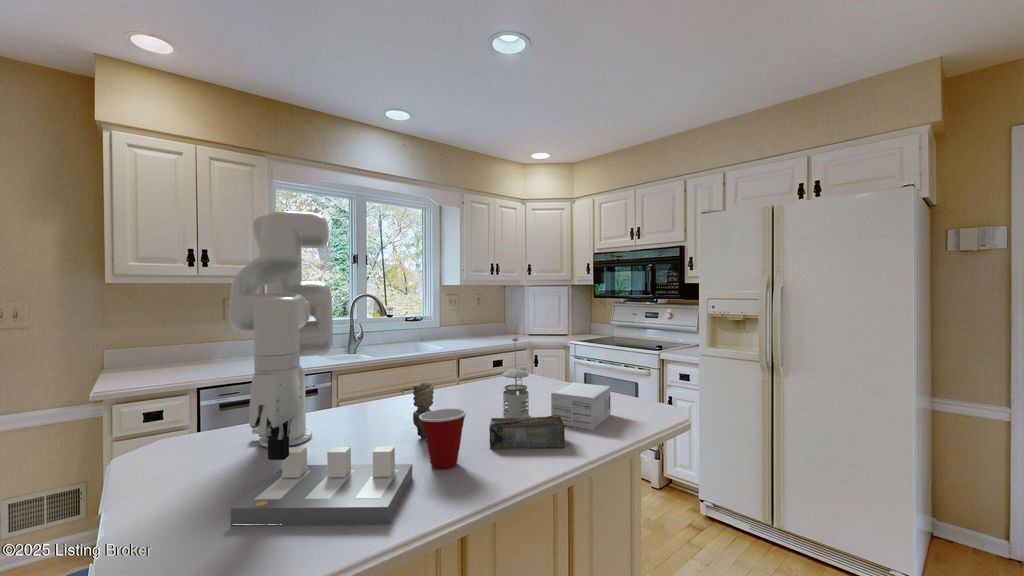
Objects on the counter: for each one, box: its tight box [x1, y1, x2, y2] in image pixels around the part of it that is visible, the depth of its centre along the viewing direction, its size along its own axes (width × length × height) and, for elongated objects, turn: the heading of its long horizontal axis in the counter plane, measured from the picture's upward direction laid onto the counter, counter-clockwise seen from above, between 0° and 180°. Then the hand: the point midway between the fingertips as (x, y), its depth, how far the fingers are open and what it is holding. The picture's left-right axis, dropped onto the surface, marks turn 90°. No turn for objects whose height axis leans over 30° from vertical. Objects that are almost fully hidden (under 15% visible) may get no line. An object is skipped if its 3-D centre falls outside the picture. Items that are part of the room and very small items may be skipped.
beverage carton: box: [488, 415, 566, 450], centre depth 112 cm, size 8×19×7 cm, turn 91°
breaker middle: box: [326, 446, 352, 477], centre depth 87 cm, size 4×4×5 cm
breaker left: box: [281, 446, 308, 478], centre depth 87 cm, size 4×4×5 cm
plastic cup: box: [419, 408, 467, 471], centre depth 99 cm, size 11×11×12 cm
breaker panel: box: [230, 463, 413, 526], centre depth 83 cm, size 27×18×3 cm, turn 90°
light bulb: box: [412, 381, 435, 440], centre depth 116 cm, size 6×6×15 cm
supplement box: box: [550, 382, 611, 431], centre depth 132 cm, size 17×13×9 cm
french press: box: [500, 336, 532, 418], centre depth 134 cm, size 10×12×25 cm
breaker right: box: [372, 445, 396, 477], centre depth 87 cm, size 4×4×5 cm
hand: (278, 458), depth 82 cm, fingers closed
